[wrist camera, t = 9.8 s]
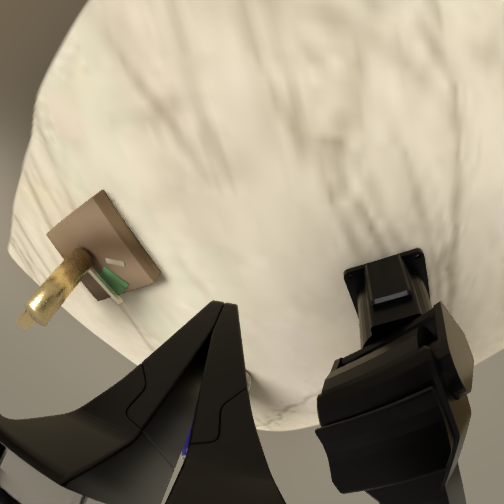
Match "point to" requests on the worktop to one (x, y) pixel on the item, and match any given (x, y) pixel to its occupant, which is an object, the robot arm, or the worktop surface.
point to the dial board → (105, 247)
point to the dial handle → (61, 289)
